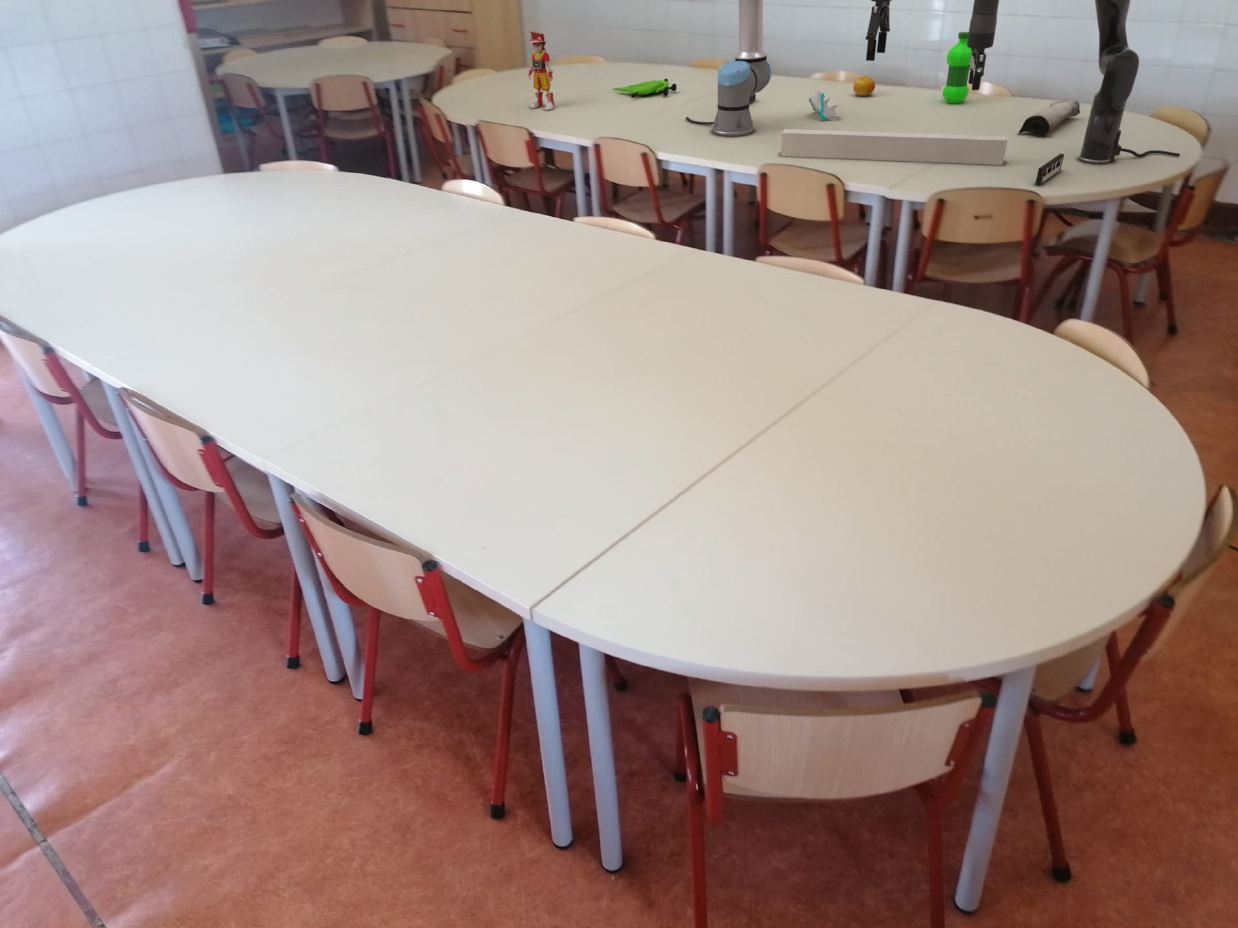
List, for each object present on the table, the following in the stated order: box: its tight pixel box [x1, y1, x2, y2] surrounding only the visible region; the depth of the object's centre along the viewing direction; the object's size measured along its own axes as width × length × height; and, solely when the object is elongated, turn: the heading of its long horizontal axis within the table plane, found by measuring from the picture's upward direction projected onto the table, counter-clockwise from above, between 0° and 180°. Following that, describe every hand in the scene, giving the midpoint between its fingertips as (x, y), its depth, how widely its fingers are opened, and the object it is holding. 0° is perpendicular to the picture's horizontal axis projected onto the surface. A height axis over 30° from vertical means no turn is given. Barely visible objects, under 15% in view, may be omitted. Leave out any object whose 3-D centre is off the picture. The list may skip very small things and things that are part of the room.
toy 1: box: [527, 31, 556, 111], centre depth 374 cm, size 12×9×30 cm
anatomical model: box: [808, 89, 842, 121], centre depth 345 cm, size 15×10×10 cm
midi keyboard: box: [1035, 153, 1065, 186], centre depth 273 cm, size 18×1×5 cm, turn 138°
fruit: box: [852, 76, 876, 97], centre depth 369 cm, size 8×8×8 cm
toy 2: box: [612, 78, 677, 99], centre depth 396 cm, size 28×5×30 cm
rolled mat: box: [1018, 99, 1081, 137], centre depth 319 cm, size 30×9×10 cm
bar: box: [780, 128, 1008, 166], centre depth 297 cm, size 71×5×8 cm, turn 71°
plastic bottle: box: [942, 31, 972, 104], centre depth 348 cm, size 10×10×25 cm
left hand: (875, 56), depth 308 cm, fingers open, 13 cm apart
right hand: (973, 87), depth 279 cm, fingers open, 8 cm apart
